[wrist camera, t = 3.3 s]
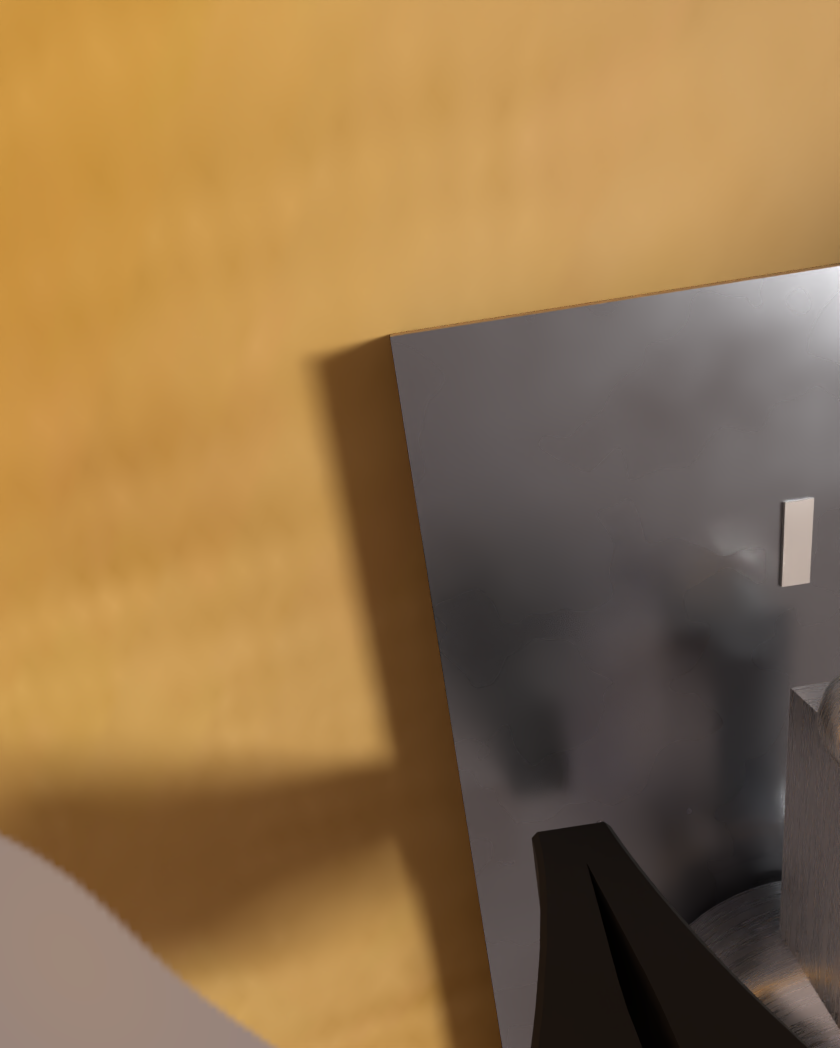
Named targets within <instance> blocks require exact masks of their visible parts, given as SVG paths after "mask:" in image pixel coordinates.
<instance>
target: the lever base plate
mask: <svg viewBox="0 0 840 1048" xmlns="http://www.w3.org/2000/svg"><path fill="white" fill-rule="evenodd" d="M390 340H391V346H392V353H393V359H394V365H395V372H396V378H397V384H398V391H399V397H400V403H401V410H402V416H403V422H404V429H405V435H406V441H407V448H408V454H409V460H410V467H411V473H412V479H413V486H414V492H415V498H416V504H417V511H418V517H419V523H420V530H421V536H422V542H423V549H424V555H425V561H426V568H427V574H428V580H429V587H430V593H431V599H432V606H433V612H434V618H435V625H436V631H437V637H438V644H439V650H440V656H441V663H442V669H443V675H444V682H445V688H446V694H447V701H448V707H449V713H450V719H451V726H452V732H453V738H454V745H455V751H456V757H457V764H458V770H459V776H460V783H461V789H462V795H463V802H464V808H465V814H466V821H467V827H468V833H469V840H470V846H471V852H472V859H473V865H474V871H475V878H476V884H477V890H478V897H479V903H480V909H481V916H482V922H483V928H484V934H485V941H486V947H487V953H488V960H489V966H490V972H491V979H492V985H493V991H494V998H495V1004H496V1010H497V1017H498V1023H499V1029H500V1036H501V1042H502V1048H531V1041H532V1033H533V1025H534V1016H535V1006H536V994H537V980H538V967H539V952H540V904H539V895H538V887H537V879H536V870H535V862H534V854H533V846H532V837H533V836H534V835H535V834H536V833H537V832H540V831H546V830H553V829H560V828H566V827H573V826H579V825H586V824H592V823H599V822H606V823H607V824H608V825H610V826H611V827H612V829H613V830H614V832H615V833H616V835H617V836H618V838H619V839H620V840H621V842H622V843H623V844H624V846H625V847H626V849H627V850H628V851H629V853H630V854H631V855H632V857H633V858H634V859H635V861H636V862H637V863H638V865H639V866H640V867H641V868H642V870H643V871H644V872H645V873H646V875H647V876H648V877H649V878H650V880H651V881H652V882H653V883H654V885H655V886H656V887H657V888H658V890H659V891H660V892H661V893H662V894H663V896H664V897H665V898H666V899H667V900H668V902H669V903H670V904H671V905H672V906H673V907H674V909H675V910H676V911H677V912H678V913H679V914H680V915H681V917H682V918H683V919H684V920H685V921H686V922H687V923H688V925H690V924H691V923H692V922H693V921H695V920H696V919H697V918H698V917H700V916H701V915H702V914H703V913H705V912H706V911H708V910H710V909H711V908H713V907H714V906H716V905H717V904H719V903H721V902H723V901H725V900H727V899H728V898H730V897H732V896H734V895H737V894H739V893H742V892H744V891H746V890H749V889H751V888H754V887H758V886H761V885H764V884H768V883H771V882H776V881H781V880H782V858H783V837H784V815H785V793H786V772H787V750H788V729H789V707H790V688H791V687H798V686H804V685H811V684H818V683H824V682H831V681H832V680H833V679H834V678H835V677H836V676H837V675H839V674H840V263H838V264H831V265H825V266H819V267H812V268H806V269H799V270H793V271H787V272H780V273H774V274H768V275H761V276H755V277H749V278H742V279H736V280H730V281H723V282H717V283H711V284H704V285H698V286H692V287H685V288H679V289H673V290H666V291H660V292H654V293H647V294H641V295H635V296H628V297H622V298H616V299H609V300H603V301H597V302H590V303H584V304H578V305H571V306H565V307H558V308H552V309H546V310H539V311H533V312H527V313H520V314H514V315H508V316H501V317H495V318H489V319H482V320H476V321H470V322H463V323H457V324H451V325H444V326H438V327H432V328H425V329H419V330H413V331H406V332H400V333H394V334H390Z"/></svg>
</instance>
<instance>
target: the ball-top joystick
mask: <svg viewBox="0 0 840 1048" xmlns="http://www.w3.org/2000/svg"><path fill="white" fill-rule="evenodd" d="M689 926H690V927H691V928H692V929H693V930H694V931H695V933H696V934H697V935H698V936H699V937H700V938H701V939H702V940H703V941H704V943H705V944H706V945H707V946H708V947H709V948H710V949H711V950H712V951H713V952H714V953H715V954H716V955H717V957H718V958H719V959H720V960H721V961H722V962H723V963H724V964H725V965H726V966H727V967H728V968H729V969H730V970H731V971H732V972H733V973H734V974H735V975H736V976H737V977H738V978H739V979H740V981H741V982H742V983H743V984H744V985H745V986H746V987H747V988H748V989H749V990H750V991H751V992H752V993H753V994H754V995H755V996H756V997H757V998H759V999H760V1000H761V1001H762V1002H763V1003H764V1004H765V1005H766V1006H767V1007H768V1008H769V1009H770V1010H771V1011H772V1012H773V1013H774V1014H775V1015H776V1016H777V1017H778V1018H779V1019H780V1020H782V1021H783V1022H784V1023H785V1024H786V1025H787V1026H788V1027H789V1028H790V1029H791V1030H792V1031H793V1032H794V1033H795V1034H796V1035H798V1036H799V1037H800V1038H801V1039H802V1040H803V1041H804V1042H805V1043H806V1044H807V1045H809V1046H810V1047H811V1048H840V674H839V675H837V676H836V677H835V678H834V679H833V680H832V681H831V682H824V683H818V684H811V685H804V686H798V687H791V688H790V707H789V729H788V750H787V772H786V793H785V815H784V837H783V858H782V880H781V881H776V882H771V883H768V884H764V885H761V886H758V887H754V888H751V889H749V890H746V891H744V892H742V893H739V894H737V895H734V896H732V897H730V898H728V899H727V900H725V901H723V902H721V903H719V904H717V905H716V906H714V907H713V908H711V909H710V910H708V911H706V912H705V913H703V914H702V915H701V916H700V917H698V918H697V919H696V920H695V921H693V922H692V923H691V924H690V925H689Z"/></svg>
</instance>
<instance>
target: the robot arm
mask: <svg viewBox="0 0 840 1048" xmlns="http://www.w3.org/2000/svg"><path fill="white" fill-rule="evenodd" d="M532 846H533V854H534V862H535V870H536V879H537V887H538V895H539V904H540V952H539V967H538V980H537V994H536V1006H535V1016H534V1025H533V1033H532V1041H531V1048H811V1047H810V1046H809V1045H807V1044H806V1043H805V1042H804V1041H803V1040H802V1039H801V1038H800V1037H799V1036H798V1035H796V1034H795V1033H794V1032H793V1031H792V1030H791V1029H790V1028H789V1027H788V1026H787V1025H786V1024H785V1023H784V1022H783V1021H782V1020H780V1019H779V1018H778V1017H777V1016H776V1015H775V1014H774V1013H773V1012H772V1011H771V1010H770V1009H769V1008H768V1007H767V1006H766V1005H765V1004H764V1003H763V1002H762V1001H761V1000H760V999H759V998H757V997H756V996H755V995H754V994H753V993H752V992H751V991H750V990H749V989H748V988H747V987H746V986H745V985H744V984H743V983H742V982H741V981H740V979H739V978H738V977H737V976H736V975H735V974H734V973H733V972H732V971H731V970H730V969H729V968H728V967H727V966H726V965H725V964H724V963H723V962H722V961H721V960H720V959H719V958H718V957H717V955H716V954H715V953H714V952H713V951H712V950H711V949H710V948H709V947H708V946H707V945H706V944H705V943H704V941H703V940H702V939H701V938H700V937H699V936H698V935H697V934H696V933H695V931H694V930H693V929H692V928H691V927H690V926H689V925H688V923H687V922H686V921H685V920H684V919H683V918H682V917H681V915H680V914H679V913H678V912H677V911H676V910H675V909H674V907H673V906H672V905H671V904H670V903H669V902H668V900H667V899H666V898H665V897H664V896H663V894H662V893H661V892H660V891H659V890H658V888H657V887H656V886H655V885H654V883H653V882H652V881H651V880H650V878H649V877H648V876H647V875H646V873H645V872H644V871H643V870H642V868H641V867H640V866H639V865H638V863H637V862H636V861H635V859H634V858H633V857H632V855H631V854H630V853H629V851H628V850H627V849H626V847H625V846H624V844H623V843H622V842H621V840H620V839H619V838H618V836H617V835H616V833H615V832H614V830H613V829H612V827H611V826H610V825H608V824H607V823H606V822H599V823H592V824H586V825H579V826H573V827H566V828H560V829H553V830H546V831H540V832H537V833H536V834H535V835H534V836H533V837H532Z"/></svg>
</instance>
